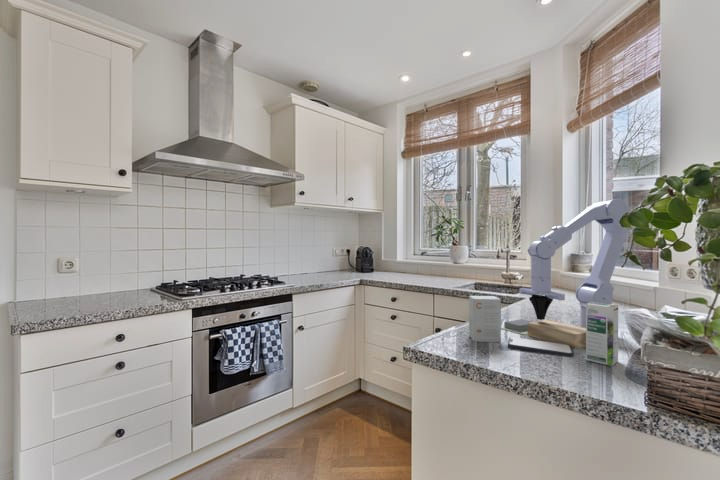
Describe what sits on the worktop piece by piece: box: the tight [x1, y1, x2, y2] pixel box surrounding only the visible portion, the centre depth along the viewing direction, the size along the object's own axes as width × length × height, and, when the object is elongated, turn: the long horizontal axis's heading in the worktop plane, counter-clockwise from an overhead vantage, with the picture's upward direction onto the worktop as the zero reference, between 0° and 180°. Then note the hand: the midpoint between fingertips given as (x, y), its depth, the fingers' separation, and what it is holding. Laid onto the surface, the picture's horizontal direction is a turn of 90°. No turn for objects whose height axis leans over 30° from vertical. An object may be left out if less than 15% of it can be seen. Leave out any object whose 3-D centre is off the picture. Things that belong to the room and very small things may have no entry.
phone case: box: [507, 336, 575, 358], centre depth 96 cm, size 9×2×16 cm
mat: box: [501, 326, 528, 336], centre depth 116 cm, size 12×9×1 cm
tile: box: [503, 318, 533, 332], centre depth 117 cm, size 9×6×2 cm, turn 117°
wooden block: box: [527, 319, 586, 350], centre depth 105 cm, size 10×15×4 cm, turn 27°
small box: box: [468, 295, 502, 343], centre depth 104 cm, size 8×6×13 cm
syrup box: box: [585, 302, 619, 367], centre depth 86 cm, size 6×6×14 cm
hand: (540, 319), depth 110 cm, fingers closed
